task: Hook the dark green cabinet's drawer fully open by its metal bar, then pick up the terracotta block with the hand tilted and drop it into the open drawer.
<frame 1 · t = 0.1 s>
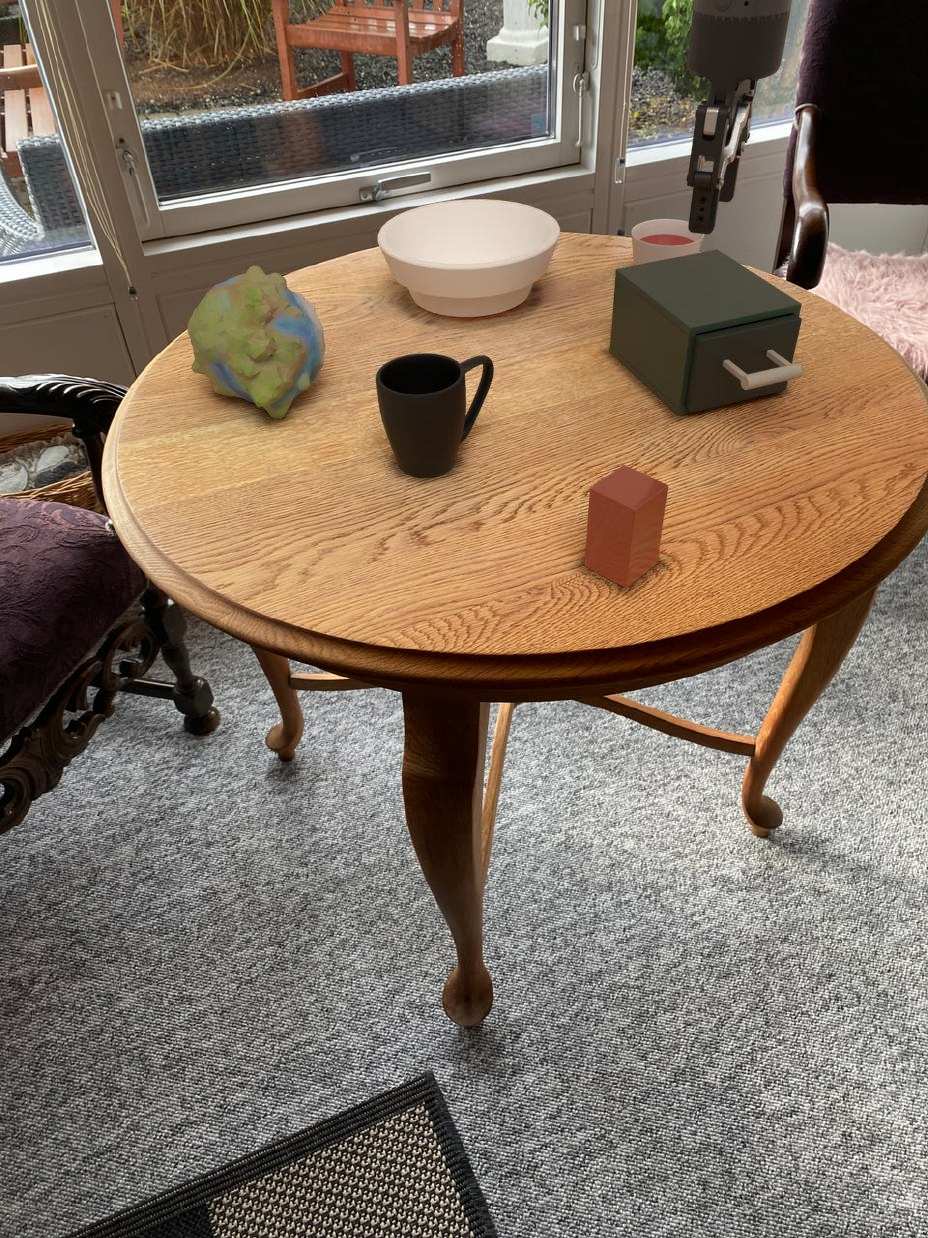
hand: (711, 215, 81), 19 cm above the table, tool pointing down, fingers open, 8 cm apart
cabinet: (692, 370, 99), on the table
candle: (661, 283, 116), on the table
block: (620, 564, 75), on the table
decorative rock: (264, 403, 98), on the table
mug: (443, 457, 89), on the table
bowl: (470, 297, 115), on the table
drawer: (719, 346, 93), point 5 cm above the table, slide at 0.0 cm
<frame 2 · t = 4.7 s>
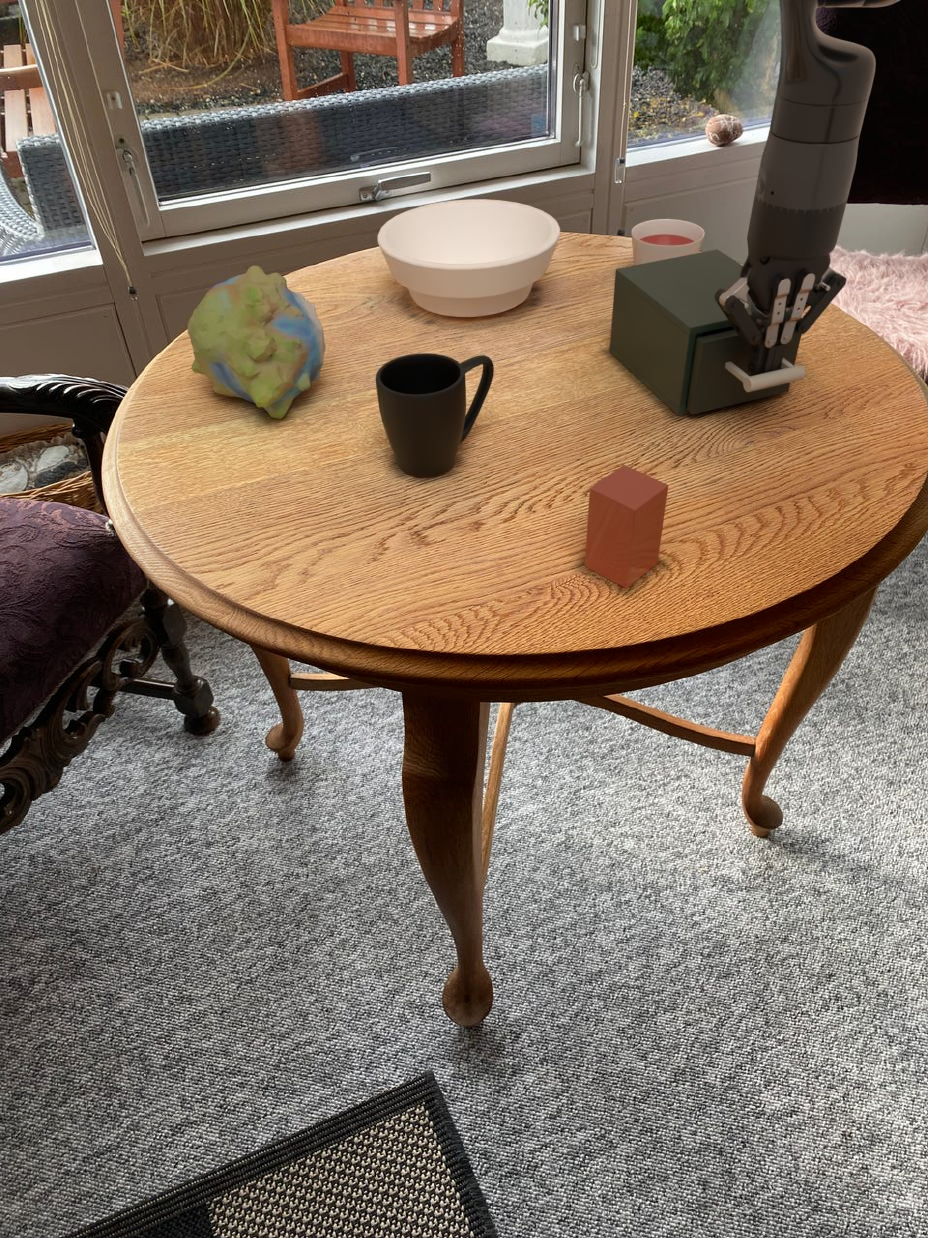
hand: (762, 376, 87), 5 cm above the table, tool pointing down, fingers closed
drawer: (721, 347, 92), point 5 cm above the table, slide at 0.4 cm, touching gripper
everything else where it was.
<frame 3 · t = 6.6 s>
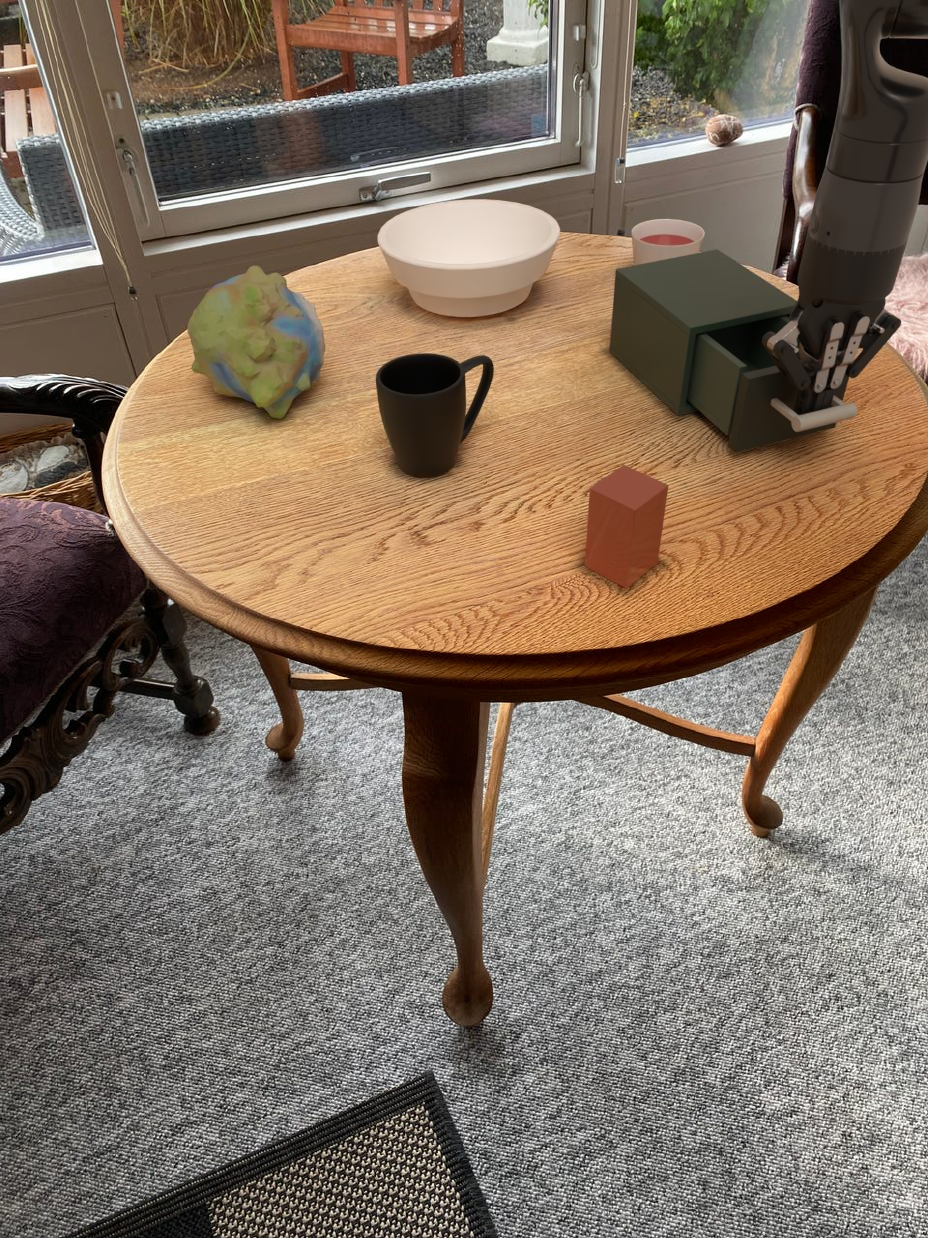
hand: (808, 421, 82), 4 cm above the table, tool pointing down, fingers closed
drawer: (764, 381, 87), point 5 cm above the table, slide at 8.2 cm, touching gripper
everything else where it was.
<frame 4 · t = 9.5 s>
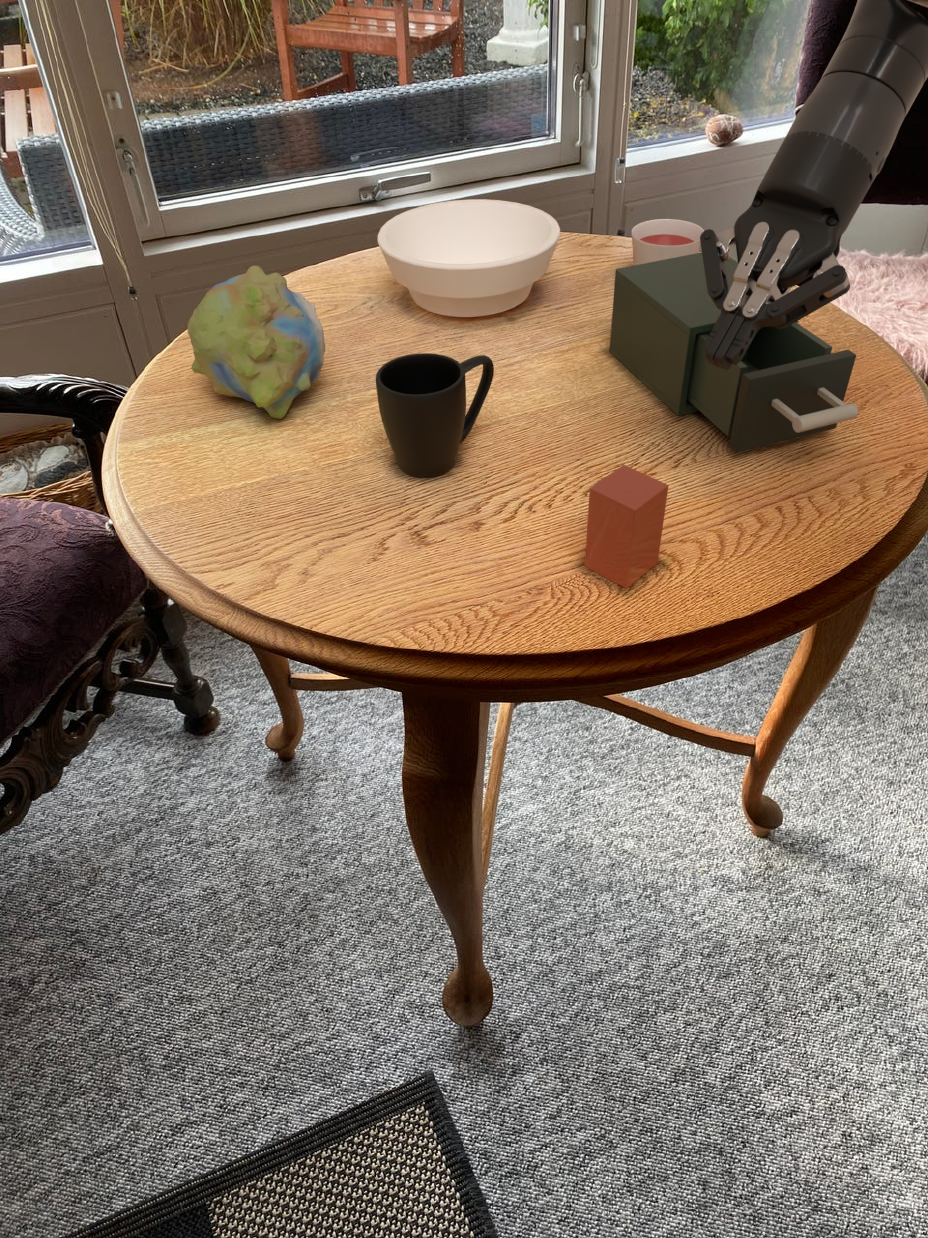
hand: (716, 363, 71), 14 cm above the table, tool tilted 45°, fingers closed
drawer: (765, 382, 87), point 5 cm above the table, slide at 8.3 cm
everything else where it was.
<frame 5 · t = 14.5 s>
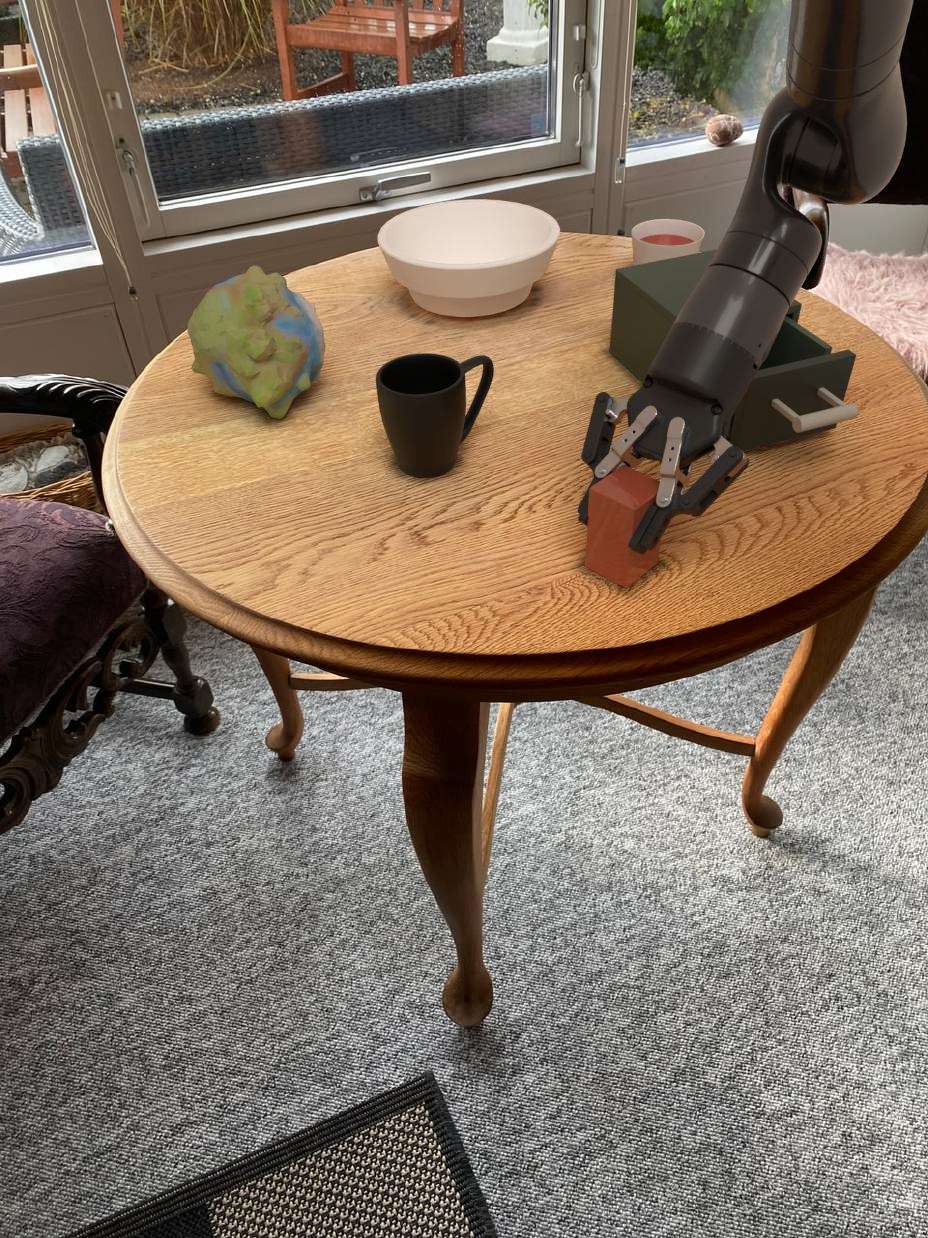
hand: (610, 537, 72), 4 cm above the table, tool tilted 45°, fingers closed on block, 4 cm apart
block: (620, 564, 75), on the table, touching gripper
everything else where it was.
when the fingers open (11 cm above the table, at t = 24.4 s): block drops 5 cm, resting on drawer.
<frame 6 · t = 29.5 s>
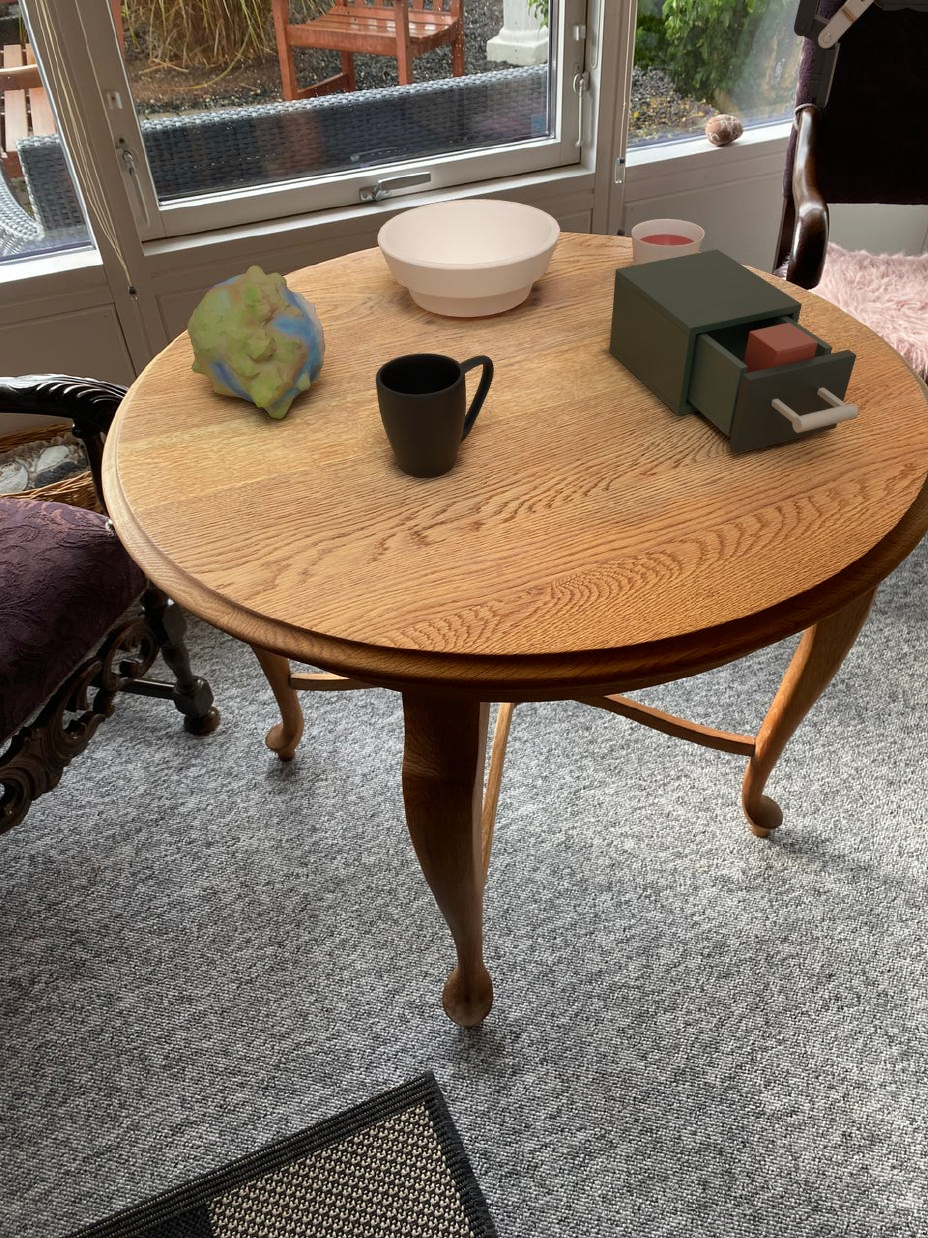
hand: (882, 108, 65), 30 cm above the table, tool pointing down, fingers open, 8 cm apart
block: (766, 412, 88), point 2 cm above the table, touching drawer
drawer: (765, 382, 87), point 5 cm above the table, slide at 8.3 cm, touching block
everything else where it was.
at the end: drawer slide at 8.3 cm; block inside the target area in the drawer (1.2 cm from its centre), point 2.0 cm above the cabinet's base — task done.
